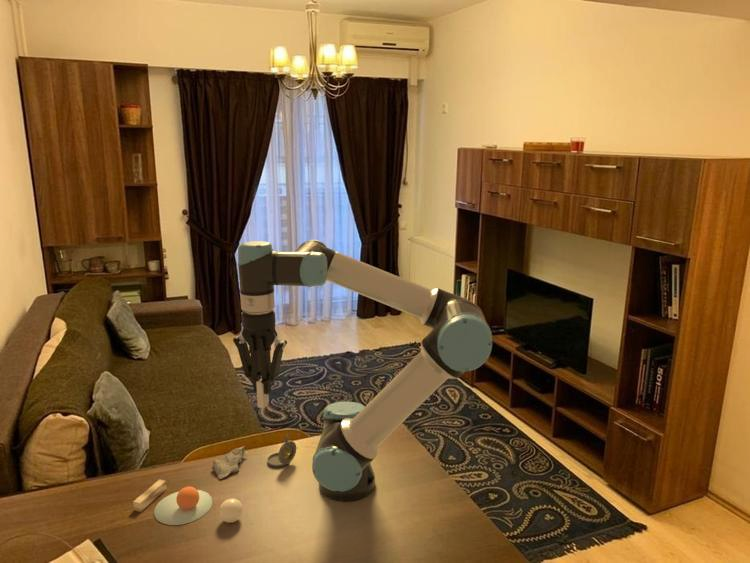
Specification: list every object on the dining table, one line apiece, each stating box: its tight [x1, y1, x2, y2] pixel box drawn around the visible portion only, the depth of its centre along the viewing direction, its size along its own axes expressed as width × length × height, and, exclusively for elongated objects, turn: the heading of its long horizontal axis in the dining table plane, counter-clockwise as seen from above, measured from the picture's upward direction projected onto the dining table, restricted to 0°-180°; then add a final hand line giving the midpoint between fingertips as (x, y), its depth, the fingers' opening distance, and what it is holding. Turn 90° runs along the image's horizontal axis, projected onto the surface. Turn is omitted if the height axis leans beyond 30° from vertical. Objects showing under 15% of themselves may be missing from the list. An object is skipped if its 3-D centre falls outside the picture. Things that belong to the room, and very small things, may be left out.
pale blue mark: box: [153, 489, 213, 526], centre depth 141 cm, size 14×14×1 cm
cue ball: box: [219, 498, 244, 524], centre depth 136 cm, size 6×6×6 cm
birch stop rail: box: [132, 479, 168, 513], centre depth 144 cm, size 10×2×2 cm, turn 162°
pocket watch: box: [266, 433, 297, 468], centre depth 159 cm, size 8×8×10 cm
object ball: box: [176, 486, 199, 510], centre depth 140 cm, size 6×6×6 cm
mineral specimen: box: [211, 445, 248, 480], centre depth 158 cm, size 6×12×4 cm, turn 140°
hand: (263, 405), depth 132 cm, fingers closed
